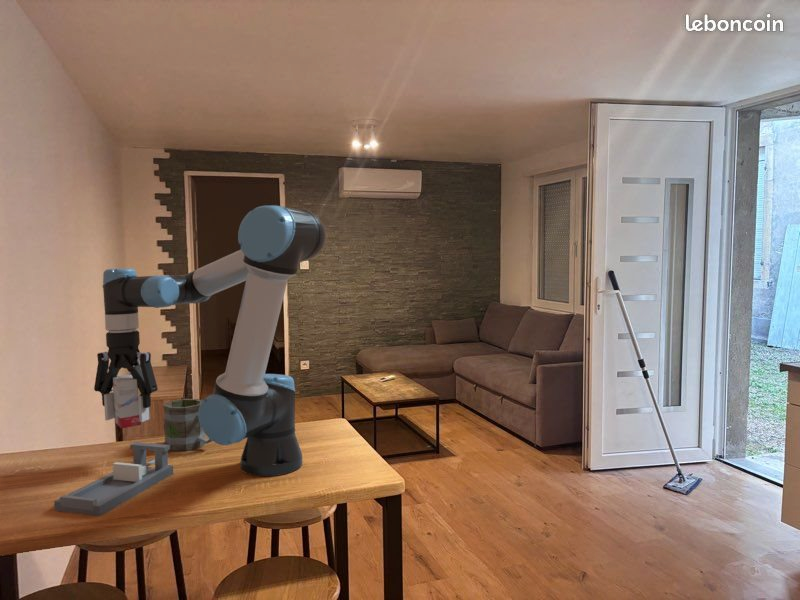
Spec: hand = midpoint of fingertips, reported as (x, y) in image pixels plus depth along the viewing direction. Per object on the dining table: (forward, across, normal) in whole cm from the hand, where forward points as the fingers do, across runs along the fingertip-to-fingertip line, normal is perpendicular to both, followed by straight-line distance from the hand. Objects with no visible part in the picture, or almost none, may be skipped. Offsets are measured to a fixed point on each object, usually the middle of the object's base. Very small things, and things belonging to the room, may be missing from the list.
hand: (127, 419), depth 147 cm
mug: (+12, -7, -16) cm, 21 cm away
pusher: (+10, -9, +6) cm, 15 cm away
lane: (+12, -9, +15) cm, 21 cm away
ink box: (+1, 0, 0) cm, 1 cm away
